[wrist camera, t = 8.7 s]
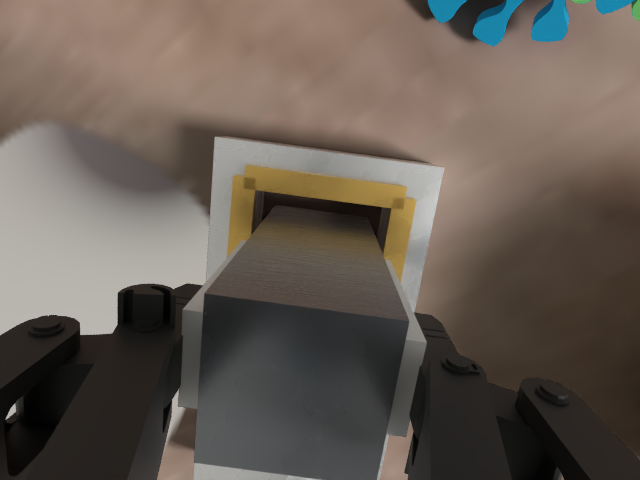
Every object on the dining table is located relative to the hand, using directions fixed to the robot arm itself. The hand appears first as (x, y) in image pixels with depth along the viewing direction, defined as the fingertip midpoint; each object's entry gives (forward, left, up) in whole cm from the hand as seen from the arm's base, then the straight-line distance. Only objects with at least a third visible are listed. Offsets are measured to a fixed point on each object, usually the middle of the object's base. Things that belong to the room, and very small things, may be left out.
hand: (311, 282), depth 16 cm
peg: (0, 0, -4) cm, 4 cm away
